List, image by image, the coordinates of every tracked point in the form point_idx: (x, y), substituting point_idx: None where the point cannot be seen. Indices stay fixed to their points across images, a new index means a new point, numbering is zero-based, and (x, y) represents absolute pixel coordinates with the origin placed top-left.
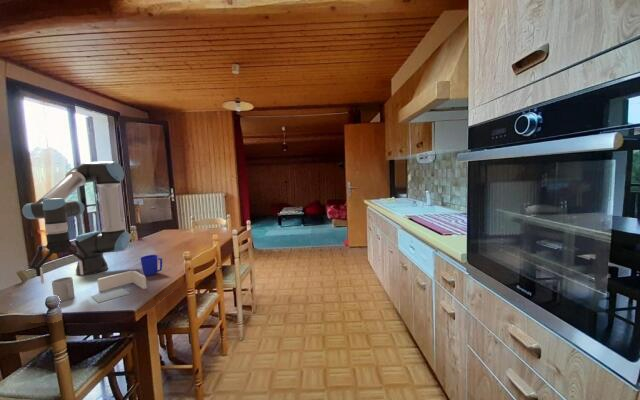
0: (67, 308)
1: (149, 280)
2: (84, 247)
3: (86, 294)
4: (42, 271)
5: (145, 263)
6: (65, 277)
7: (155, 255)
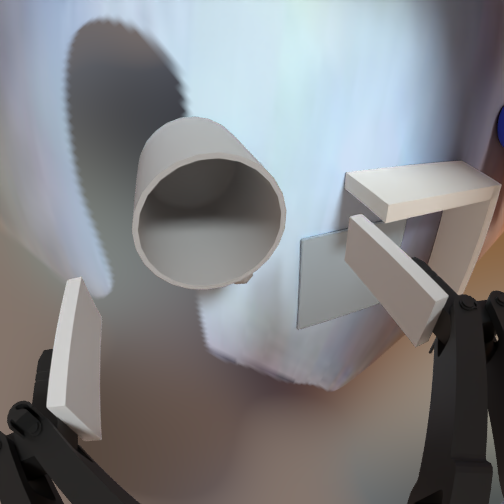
0: (205, 319)
1: None
2: None
3: (292, 183)
4: (99, 413)
5: None
6: (240, 157)
7: None
